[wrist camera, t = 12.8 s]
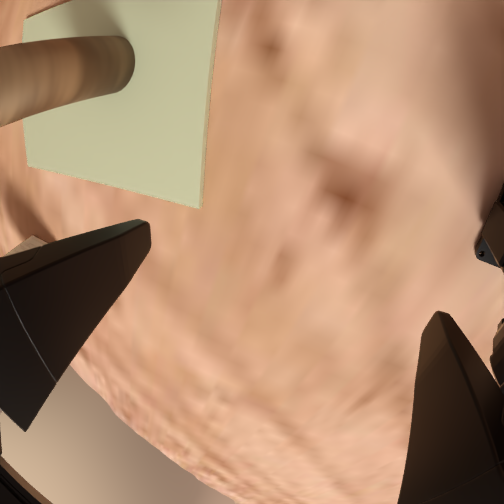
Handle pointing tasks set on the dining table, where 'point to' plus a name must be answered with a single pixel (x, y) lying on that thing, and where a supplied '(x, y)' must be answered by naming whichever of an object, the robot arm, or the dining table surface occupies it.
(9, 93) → the pepper mill
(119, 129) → the placemat
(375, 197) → the dining table surface
